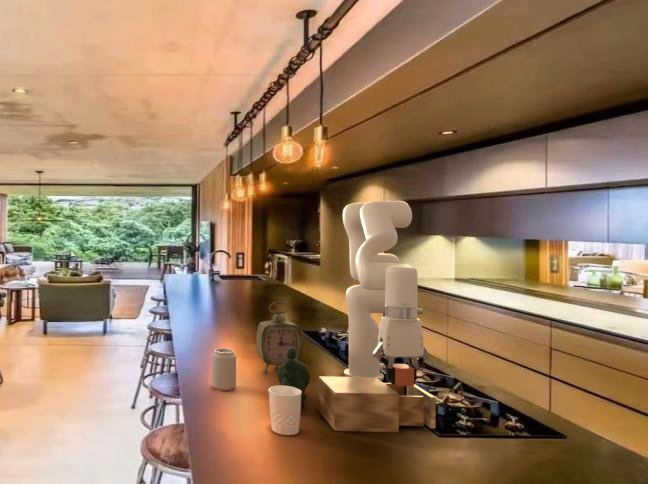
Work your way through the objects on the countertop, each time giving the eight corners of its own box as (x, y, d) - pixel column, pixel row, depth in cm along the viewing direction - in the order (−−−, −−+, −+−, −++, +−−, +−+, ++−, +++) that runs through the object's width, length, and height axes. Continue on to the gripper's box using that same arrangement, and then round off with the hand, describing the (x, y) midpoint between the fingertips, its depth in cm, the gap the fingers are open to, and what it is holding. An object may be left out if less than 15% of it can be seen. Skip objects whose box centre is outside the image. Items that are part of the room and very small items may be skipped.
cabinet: (375, 411, 132) (375, 377, 132) (398, 432, 119) (398, 393, 119) (318, 410, 133) (318, 376, 133) (334, 430, 120) (334, 392, 120)
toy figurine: (309, 424, 128) (310, 387, 151) (309, 355, 126) (310, 329, 149) (272, 420, 131) (279, 384, 154) (272, 352, 129) (279, 327, 153)
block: (405, 380, 128) (405, 363, 128) (414, 386, 123) (414, 368, 123) (388, 380, 128) (388, 363, 128) (396, 385, 123) (396, 368, 123)
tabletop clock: (261, 375, 167) (261, 303, 167) (255, 367, 176) (255, 299, 176) (302, 375, 167) (302, 303, 167) (294, 367, 176) (294, 299, 176)
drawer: (426, 410, 131) (426, 382, 131) (453, 428, 119) (453, 397, 119) (357, 409, 132) (357, 380, 132) (376, 427, 120) (376, 396, 120)
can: (235, 384, 157) (235, 347, 157) (237, 391, 149) (237, 353, 149) (212, 383, 157) (212, 347, 157) (212, 391, 150) (212, 352, 150)
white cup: (301, 426, 123) (301, 387, 123) (301, 438, 115) (301, 397, 115) (270, 422, 125) (270, 384, 125) (267, 434, 118) (267, 393, 118)
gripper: (426, 311, 129) (426, 378, 129) (362, 310, 130) (362, 377, 130) (442, 315, 121) (442, 387, 121) (374, 315, 122) (374, 386, 122)
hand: (401, 381), depth 125 cm, fingers closed on block, 4 cm apart
